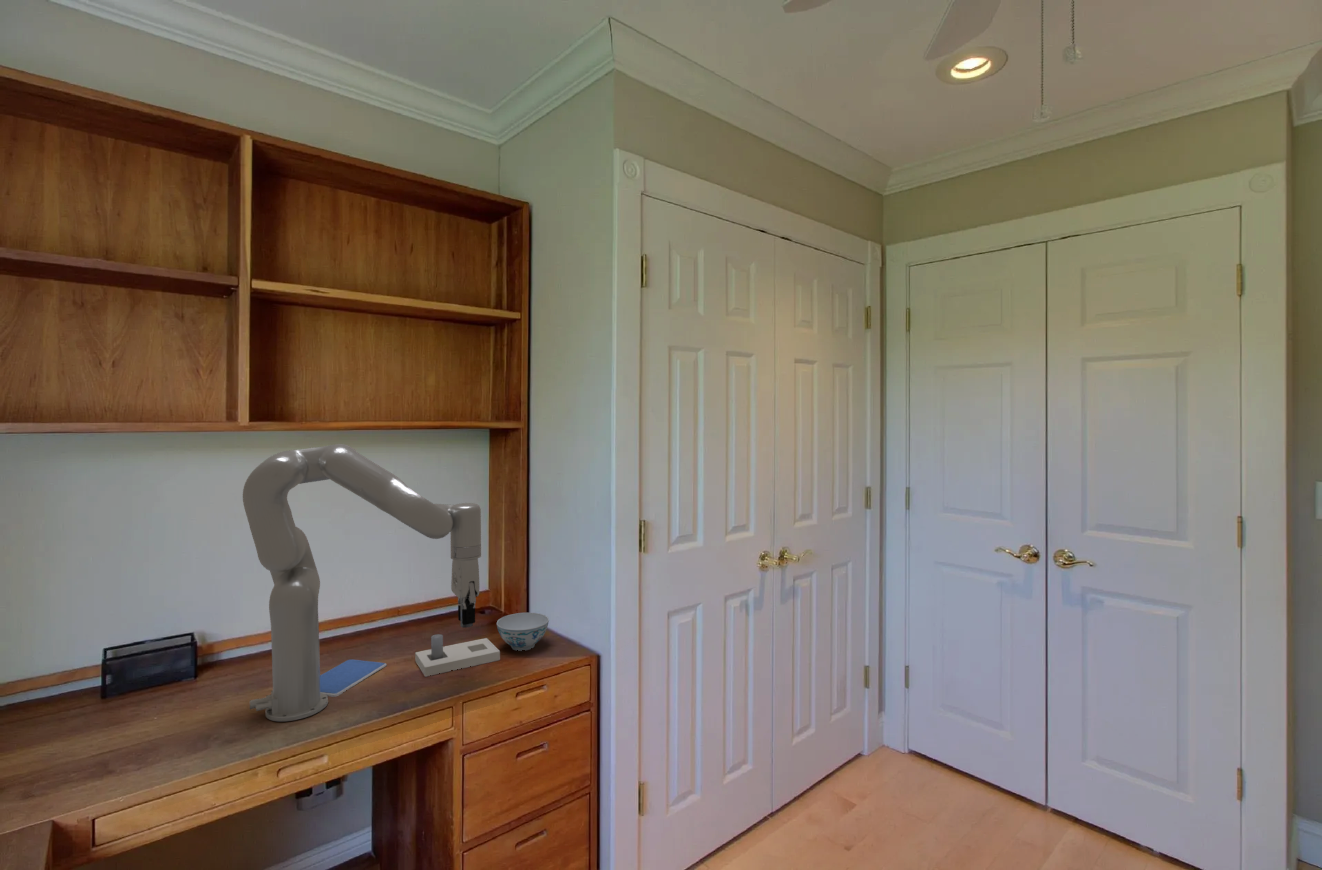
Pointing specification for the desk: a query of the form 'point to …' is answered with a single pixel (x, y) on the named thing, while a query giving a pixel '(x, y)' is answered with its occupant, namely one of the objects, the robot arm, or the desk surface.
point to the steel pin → (461, 614)
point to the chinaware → (522, 629)
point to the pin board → (455, 655)
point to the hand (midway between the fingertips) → (466, 621)
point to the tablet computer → (347, 676)
